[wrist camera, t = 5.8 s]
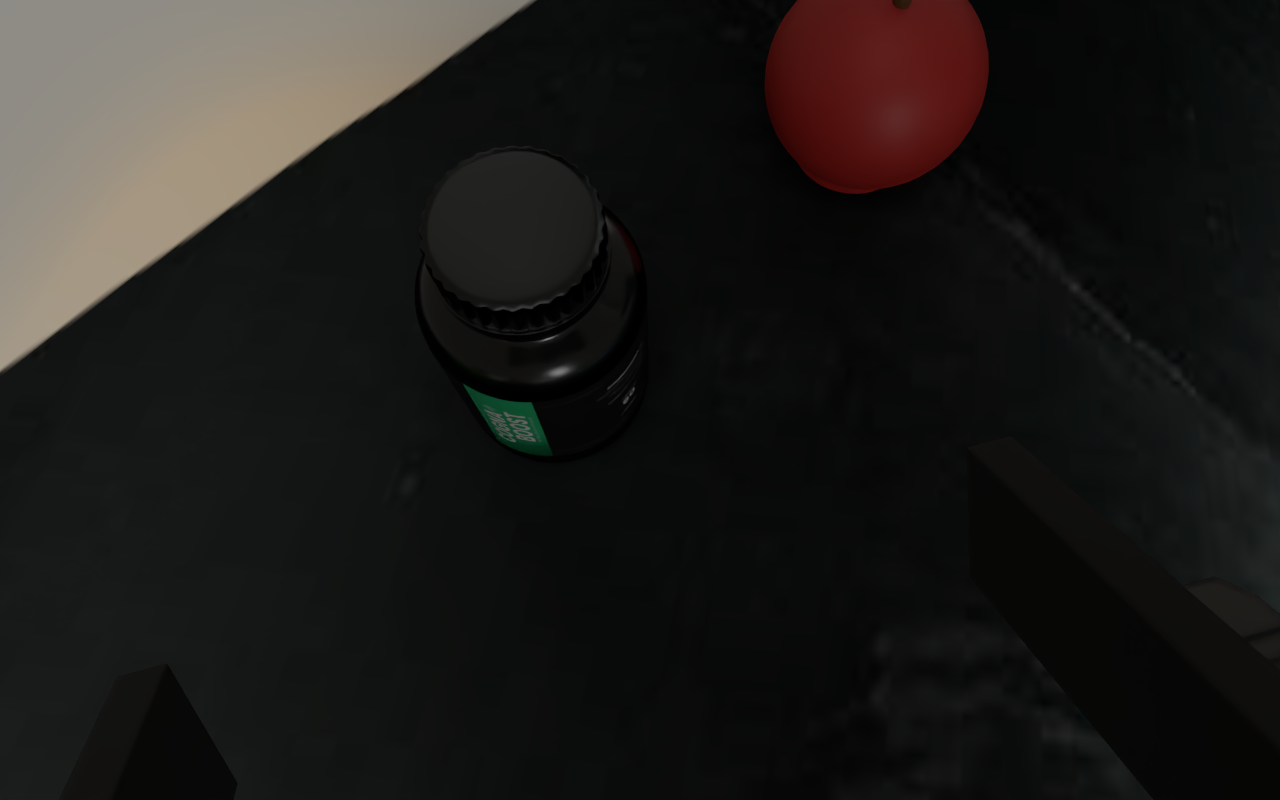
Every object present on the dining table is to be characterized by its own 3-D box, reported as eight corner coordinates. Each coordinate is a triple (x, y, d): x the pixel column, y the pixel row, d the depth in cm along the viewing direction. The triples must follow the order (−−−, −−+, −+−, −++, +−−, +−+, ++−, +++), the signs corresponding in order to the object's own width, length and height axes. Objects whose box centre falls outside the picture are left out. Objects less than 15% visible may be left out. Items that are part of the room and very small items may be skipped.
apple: (810, 31, 39) (855, -159, 30) (980, 111, 38) (1079, -63, 29) (718, 171, 37) (739, 10, 28) (895, 261, 36) (974, 122, 27)
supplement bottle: (548, 504, 33) (493, 407, 22) (431, 373, 35) (323, 218, 23) (685, 384, 34) (702, 232, 23) (567, 263, 36) (528, 65, 24)
